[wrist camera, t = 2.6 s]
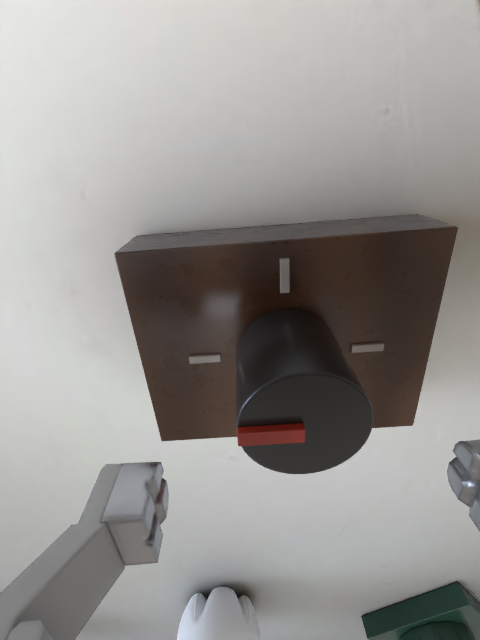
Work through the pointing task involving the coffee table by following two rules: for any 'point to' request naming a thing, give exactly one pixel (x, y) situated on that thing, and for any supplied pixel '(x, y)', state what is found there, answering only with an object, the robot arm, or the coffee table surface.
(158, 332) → the panel
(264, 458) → the knob
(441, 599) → the button box
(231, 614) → the water bottle
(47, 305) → the coffee table surface
